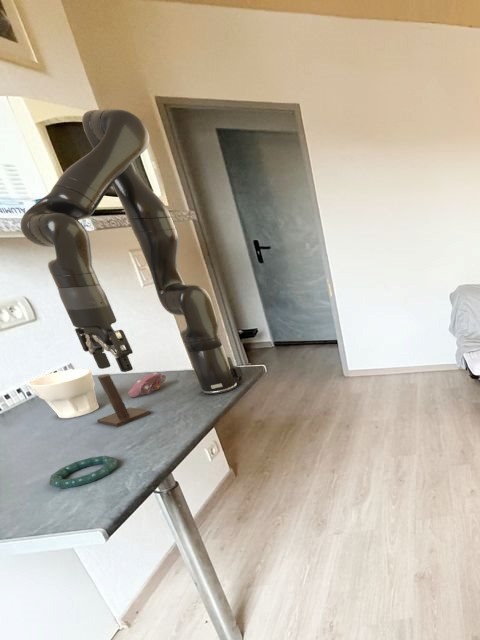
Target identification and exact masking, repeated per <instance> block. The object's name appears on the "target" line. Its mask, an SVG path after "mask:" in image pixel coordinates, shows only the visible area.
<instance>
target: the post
mask: <svg viewBox="0 0 480 640" xmlns="http://www.w3.org/2000/svg"><path fill="white" fill-rule="evenodd" d="M97 379H98V381H99V383H100V386H101V387H102V389H103V391H104V393H105V395H106V397H107V399H108V401H109V403H110V405H111V407H112V408H113V410H114V412H115V413H114V412H113V413H112V414H108V415H106V416H103V417H101V418H98V419H97V420H96V421H97V423H98V424H102V425H107V426H112V427H117V428H119V427H121V426H124V425H126V424H129V423H131V422H135V421H136V420H139V419H140V418H144V417H146V416H148V415H150V414H151V412H150V410H146V409H141V408H135V407H126V404H125V402H124V401H123V398H122V397H121V395H120V393H119V391H118V389H117V387H116V385H115V382H114V381H113V379H112V377H111V375H110V374H109V373H105V374H100V375H98V376H97Z"/></svg>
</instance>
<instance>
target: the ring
mask: <svg viewBox="0 0 480 640" xmlns="http://www.w3.org/2000/svg"><path fill="white" fill-rule="evenodd" d="M96 465H97V466H98V465H103V466H102V467H101V468H99V469H97V470H94V471H92V472H90V473H87V474H85V475H81V476H78V477H77V476H76V477H74V478H66V479H64V478H65V477H67V476H68V475H70V474H72V473H74V472H77V471H79V470H82V469H84V468H89V467H91V466H96ZM117 467H118V460H117V458H115V457H113V456H108V455H100V456H92V457H87V458H83V459H81V460H77V461H74V462H72V463H70V464H67V465H66V466H63V467H61V468H59V469H58V470H56V471H55V472H54V473H53V474H51V475H50V478H49V482H48V484H49V485H50V486H52V487H53V488H58V489H67V488H68V489H69V488H75V487H80V486H83V485H87V484H89V483H93V482H95V481H97V480H99V479H101V478H104V477H106V476H108V475H110V473H112V471H114V470H115V469H116V468H117Z"/></svg>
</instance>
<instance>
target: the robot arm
mask: <svg viewBox="0 0 480 640" xmlns="http://www.w3.org/2000/svg"><path fill="white" fill-rule="evenodd" d="M81 123H82V128H83V131H84V133H85V135H86V138H87V140H88V142H89V144H90V145H91V147H92V150H91V151H89V152H88V153H87V154H85V155H84V156H82V157H81V158H79V159H78V160H77V161H75V162H74V163H73V164H72V165H70V166H69V167H68V168H66V170H65V171H64V172H62V174H61V175H60V177H59V178H58V179H57V181H56V183H55V184H54V185H53V187H52V189H51V190H50V192H49V193H48V194H46V195H45V196H44V197H42V198H41V199H39V200H38V201H37V202H36V203H35V204H33V205H32V206H30V208H29V209H28V210H26V211H25V213H24V214H23V215H22V217H21V219H20V231H21V233H22V234H23V236H24V237H25V238H26V239H27V241H29V242H31V243H33V244H35V245H37V246H40V247H46V248H54V251H55V259H51V260H50V261H48V263H47V267H48V268H47V269H48V270H49V273H50V275H51V278H52V280H53V282H54V284H55V286H56V288H57V291H58V295H59V298H60V300H61V302H62V304H63V306H64V308H65V311H66V313H67V315H68V317H69V319H70V322H71V324H72V326H73V327H75V328H74V331H75V334H76V336H77V338H78V340H79V342H80V345H81V348H82V350H83V351H84V352H85V353H87V352H88V353H89V354H90V355H92V357H93V359H94V361H95V364H96V366H97V368H98V369H101V370H103V369H107V368H110V367H111V363H110V361H109V358H108V356H107V354H106V352H108V353H110V354H111V355H112V356H113V357H114V359H115V361H116V364H117V366H118V368H119V370H120V372H121V373H126V372H130V371H133V370H134V367H133V366H132V363H131V361H130V358H129V355H131V354H132V355H133V351H134V350H133V349H132V347H131V345H130V343H129V341H128V338H127V336H126V334H125V332H124V330H122V329H118V330H114V328H113V327H112V324H116V323H117V317H116V315H115V313H114V311H113V308H112V306H111V304H110V301H109V299H108V297H107V294H106V292H105V290H104V289H103V287H102V285H101V284H100V281H99V278H98V276H97V274H96V271H95V270H94V268H93V262H92V261H93V257H92V250H91V249H92V248H91V240H90V237H89V233H88V231H87V229H86V228H85V226H84V224H83V223H82V222H80V221H79V220H83V219H87V218H90V217H91V216H92V215H93V214H94V213H95V211H96V210H97V208H98V206H99V205H100V204H101V202H102V200H103V198H104V197H105V195H106V194H107V192H108V191H109V189H110V188H111V186H113V189H114V191H115V193H116V195H117V197H118V199H119V201H120V204H121V206H122V208H123V210H124V213H125V216H126V219H127V221H128V223H129V225H130V228H131V230H132V232H133V234H134V236H135V238H136V241H137V242H138V245H139V247H140V250H141V252H142V255H143V257H144V259H145V262H146V264H147V266H148V268H149V272H150V275H151V278H152V282H153V285H154V288H155V291H156V294H157V297H158V300H159V302H160V304H161V306H162V307H163V309H164V310H165V311H166V312H167V313H169V314H171V315H173V316H176V317H177V316H178V317H184V321H185V323H186V327H185V328H183V329H181V330H180V333H179V335H180V338H181V341H182V343H183V346H184V348H185V350H186V353H187V356H188V358H189V361H190V363H191V367H192V368H193V370H194V373H195V376H196V378H197V381H198V382H199V385H200V388H201V391H202V394H204V395H219V394H223V393H227V392H230V391H232V390H234V389H237V387H238V386H240V385H241V382H242V381H243V376H244V373H243V370H242V368H241V366H237V365H234V363H233V360H232V358H231V357H229V356H228V355H227V352H226V350H225V347H224V344H223V341H222V338H221V336H220V333H219V332H220V331H219V325H220V324H219V320H218V317H217V313H216V310H215V306H214V303H213V300H212V297H211V296H210V294H209V292H208V291H207V290H206V289H205V288H204V287H202V286H199V285H196V284H185V282H184V280H183V278H182V275H181V273H180V270H179V267H178V266H179V265H178V251H179V240H180V239H179V233H178V230H177V227H176V225H175V222H174V220H173V218H172V215H171V212H170V211H169V209H168V207H167V205H165V203H164V202H163V201H162V200H161V198H160V197H159V196H158V195H157V194H156V193H155V192H154V191H153V190H152V189H151V188H150V187H149V186H148V185H147V184H146V182H145V181H144V180H143V179H142V178H141V176H140V174H139V173H138V171H137V169H136V167H135V165H134V161H135V160H137V159H138V157H140V156H141V155H142V154H143V153H144V152H145V151H146V150H147V149H148V147H149V145H150V141H151V140H150V139H151V138H150V133H149V129H148V128H147V126H146V125H145V123H144V122H143V121H142V120H141V118H139V117H138V116H137V115H136V114H134V113H132V112H130V111H128V110H125V109H121V108H107V109H92V110H88V111H85V112H84V114H83V115H82V118H81ZM105 351H106V352H105Z"/></svg>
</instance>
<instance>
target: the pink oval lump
mask: <svg viewBox="0 0 480 640" xmlns="http://www.w3.org/2000/svg"><path fill="white" fill-rule="evenodd" d="M166 376H167V375H165V374H162V373H159V372H158V373H157V372H153V373H148V374H146V375H143V376H142V377H141V378H140V379H137V381H136V382H135V383H133V386H132V387H131V388H130V389H129V391H128V396H129V397H130V398H136V397H139V396H140V395H141V394H144V395H149V394H151V392H152V391H153V390H154V391H158V390H159V389H160V388H161V386H162V384H163V383H164V382H165V381H166Z"/></svg>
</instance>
